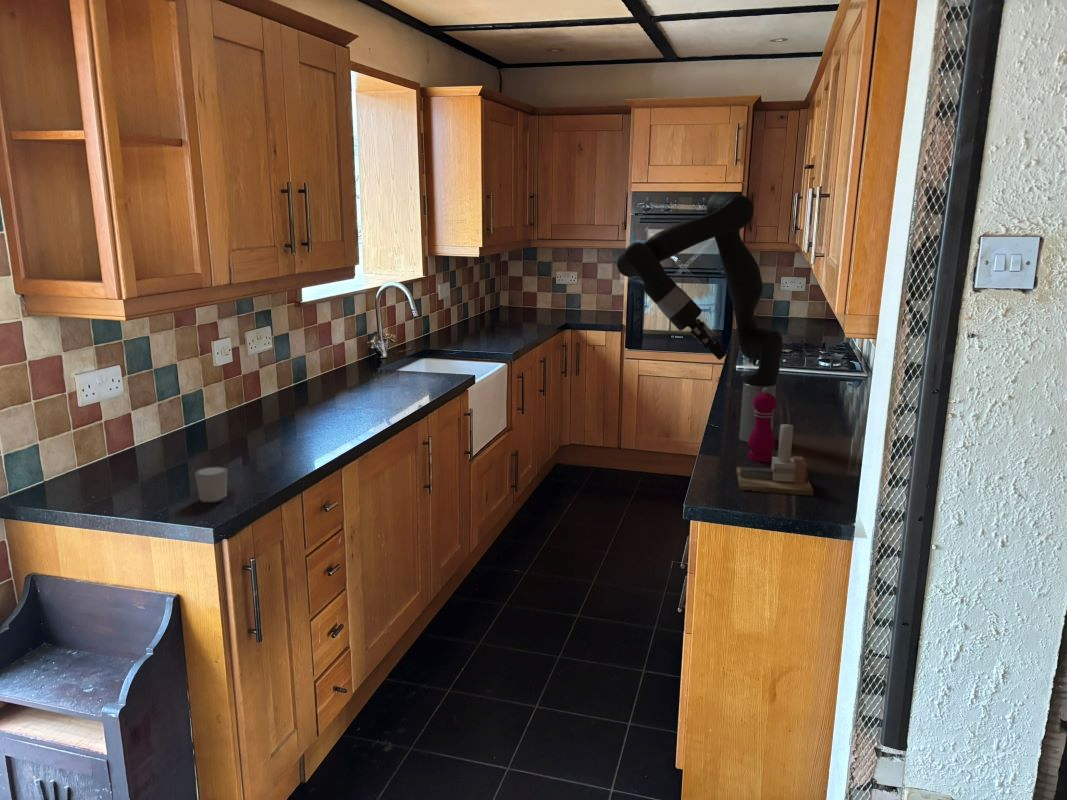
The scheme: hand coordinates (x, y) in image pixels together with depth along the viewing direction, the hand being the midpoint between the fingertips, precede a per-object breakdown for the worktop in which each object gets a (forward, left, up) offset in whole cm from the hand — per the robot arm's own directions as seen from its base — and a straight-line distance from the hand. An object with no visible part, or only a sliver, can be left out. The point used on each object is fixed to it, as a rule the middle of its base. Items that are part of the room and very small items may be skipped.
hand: (722, 354), depth 198 cm
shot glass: (+49, -113, -31) cm, 127 cm away
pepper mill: (-13, +13, -31) cm, 36 cm away
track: (+7, +14, -31) cm, 35 cm away
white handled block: (+7, +16, -29) cm, 34 cm away
